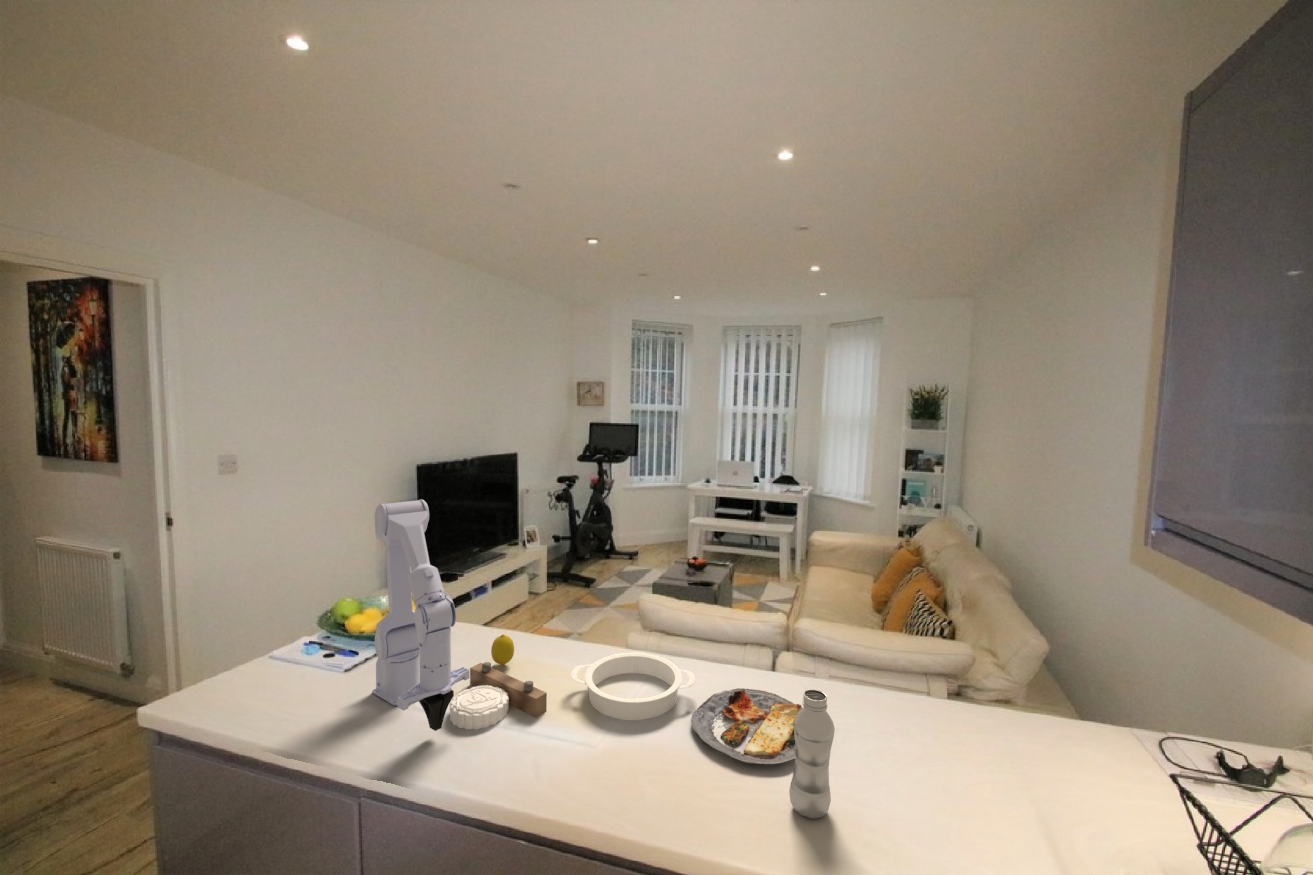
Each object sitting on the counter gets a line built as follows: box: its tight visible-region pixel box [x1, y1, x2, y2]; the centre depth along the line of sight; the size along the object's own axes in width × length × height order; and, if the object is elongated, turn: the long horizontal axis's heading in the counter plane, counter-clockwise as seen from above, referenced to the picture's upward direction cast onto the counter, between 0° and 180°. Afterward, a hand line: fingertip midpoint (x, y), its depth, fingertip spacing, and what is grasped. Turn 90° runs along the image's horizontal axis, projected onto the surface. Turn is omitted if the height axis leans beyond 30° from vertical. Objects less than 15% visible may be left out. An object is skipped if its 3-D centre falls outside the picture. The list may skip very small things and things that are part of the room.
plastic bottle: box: [788, 688, 836, 820], centre depth 90 cm, size 6×7×20 cm
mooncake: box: [449, 685, 510, 730], centre depth 116 cm, size 12×12×4 cm
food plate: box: [690, 688, 803, 765], centre depth 113 cm, size 25×23×4 cm
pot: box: [570, 652, 696, 721], centre depth 125 cm, size 29×22×5 cm
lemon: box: [490, 634, 515, 667], centre depth 137 cm, size 6×6×8 cm
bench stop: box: [469, 661, 548, 718], centre depth 123 cm, size 22×3×6 cm, turn 56°
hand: (435, 727), depth 108 cm, fingers closed
